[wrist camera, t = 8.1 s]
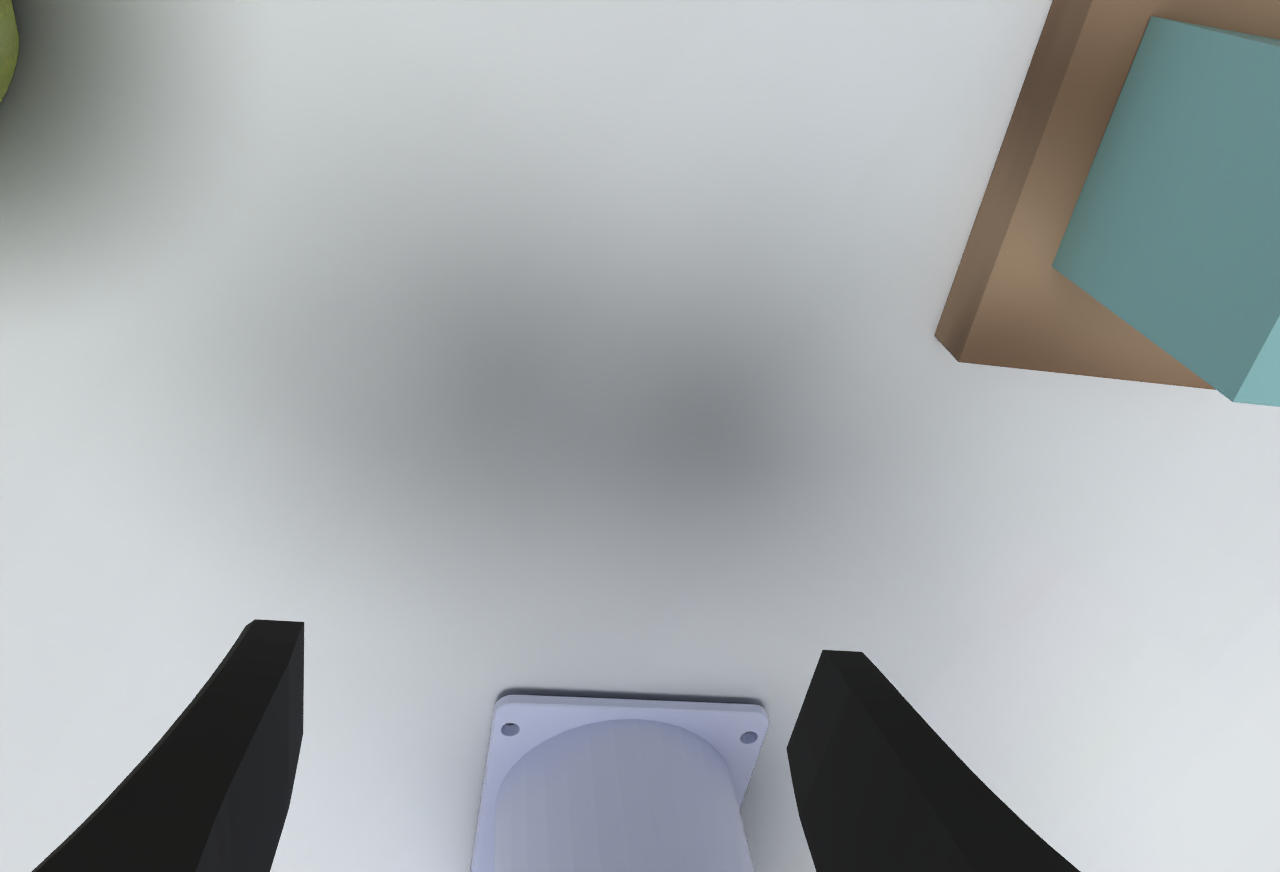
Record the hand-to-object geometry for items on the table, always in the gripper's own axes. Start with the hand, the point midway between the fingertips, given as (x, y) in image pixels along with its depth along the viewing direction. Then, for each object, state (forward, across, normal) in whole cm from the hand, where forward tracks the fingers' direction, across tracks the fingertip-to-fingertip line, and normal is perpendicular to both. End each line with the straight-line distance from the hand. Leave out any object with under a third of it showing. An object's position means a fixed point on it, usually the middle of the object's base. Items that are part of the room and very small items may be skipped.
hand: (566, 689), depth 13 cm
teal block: (+8, -13, -7) cm, 17 cm away
